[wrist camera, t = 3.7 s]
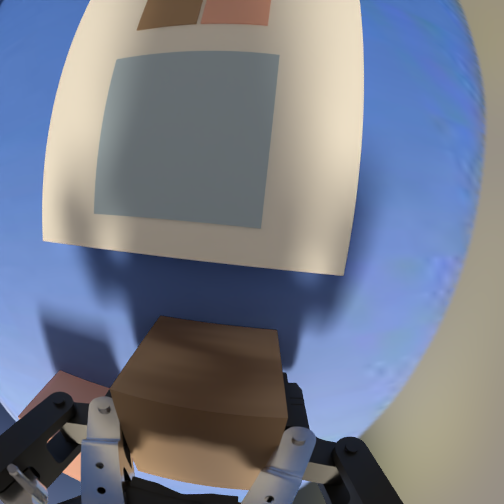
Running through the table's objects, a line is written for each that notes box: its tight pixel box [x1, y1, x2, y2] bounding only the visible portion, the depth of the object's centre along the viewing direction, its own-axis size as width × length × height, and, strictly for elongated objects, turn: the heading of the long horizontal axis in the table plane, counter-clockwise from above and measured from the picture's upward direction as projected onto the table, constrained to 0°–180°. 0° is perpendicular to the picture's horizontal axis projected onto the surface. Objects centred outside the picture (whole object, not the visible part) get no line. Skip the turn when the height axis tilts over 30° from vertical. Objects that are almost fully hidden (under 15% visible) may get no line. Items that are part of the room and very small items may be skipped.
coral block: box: [18, 370, 134, 481], centre depth 11 cm, size 6×6×6 cm
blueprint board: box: [42, 0, 364, 276], centre depth 9 cm, size 14×14×1 cm
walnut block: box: [110, 316, 288, 490], centre depth 10 cm, size 6×6×6 cm
